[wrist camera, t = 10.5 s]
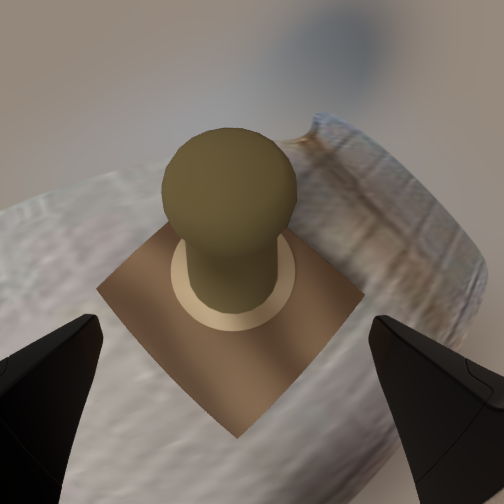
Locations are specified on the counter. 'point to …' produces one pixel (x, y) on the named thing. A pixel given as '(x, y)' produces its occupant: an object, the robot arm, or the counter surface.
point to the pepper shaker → (230, 214)
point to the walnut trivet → (230, 325)
